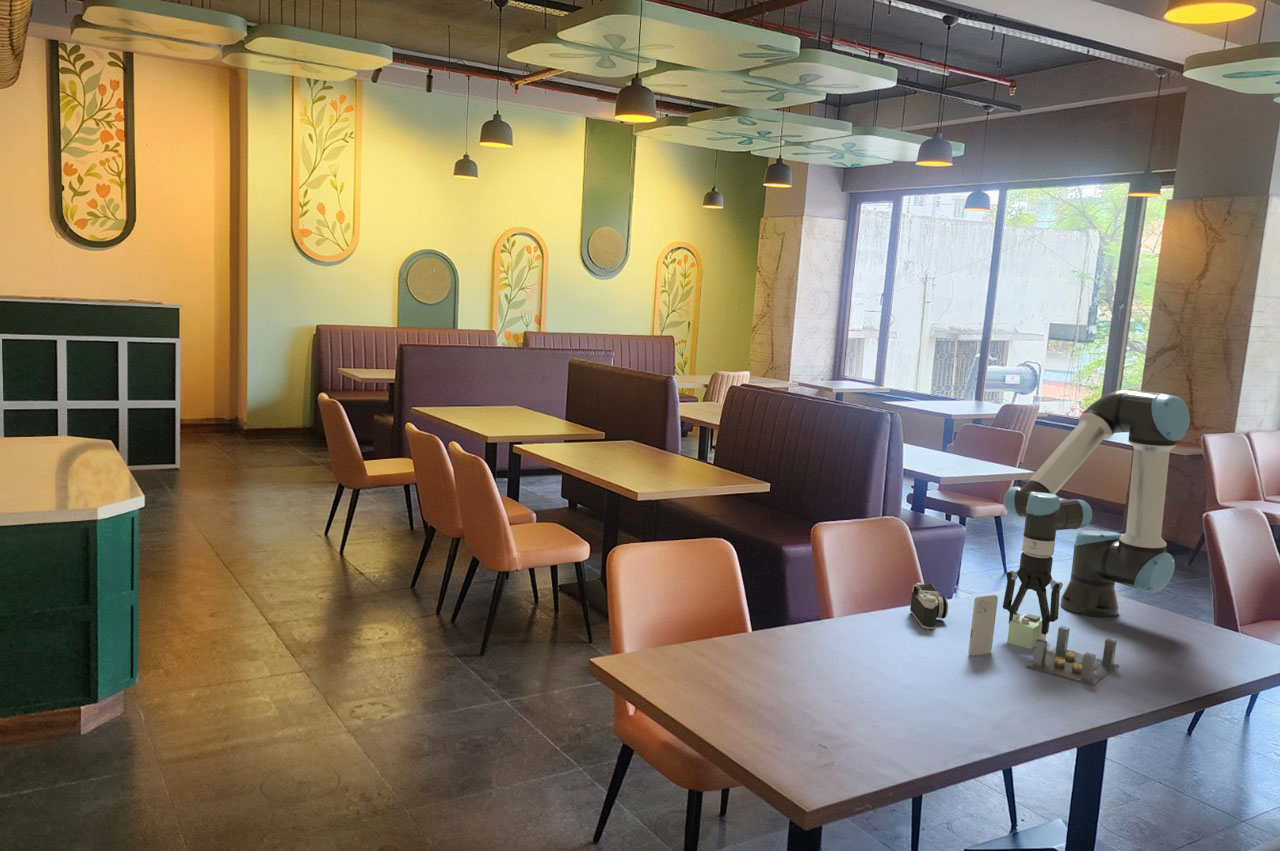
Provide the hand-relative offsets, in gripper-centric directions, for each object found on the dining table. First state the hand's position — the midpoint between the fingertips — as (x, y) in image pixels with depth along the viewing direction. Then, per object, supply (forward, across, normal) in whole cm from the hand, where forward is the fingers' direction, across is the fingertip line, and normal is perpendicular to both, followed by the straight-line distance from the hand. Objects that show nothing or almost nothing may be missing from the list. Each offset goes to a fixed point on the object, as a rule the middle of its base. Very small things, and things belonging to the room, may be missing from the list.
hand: (1026, 641), depth 252 cm
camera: (+1, -25, -4) cm, 25 cm away
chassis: (0, +15, -10) cm, 18 cm away
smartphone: (0, -4, -19) cm, 20 cm away
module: (0, 0, 0) cm, 0 cm away
